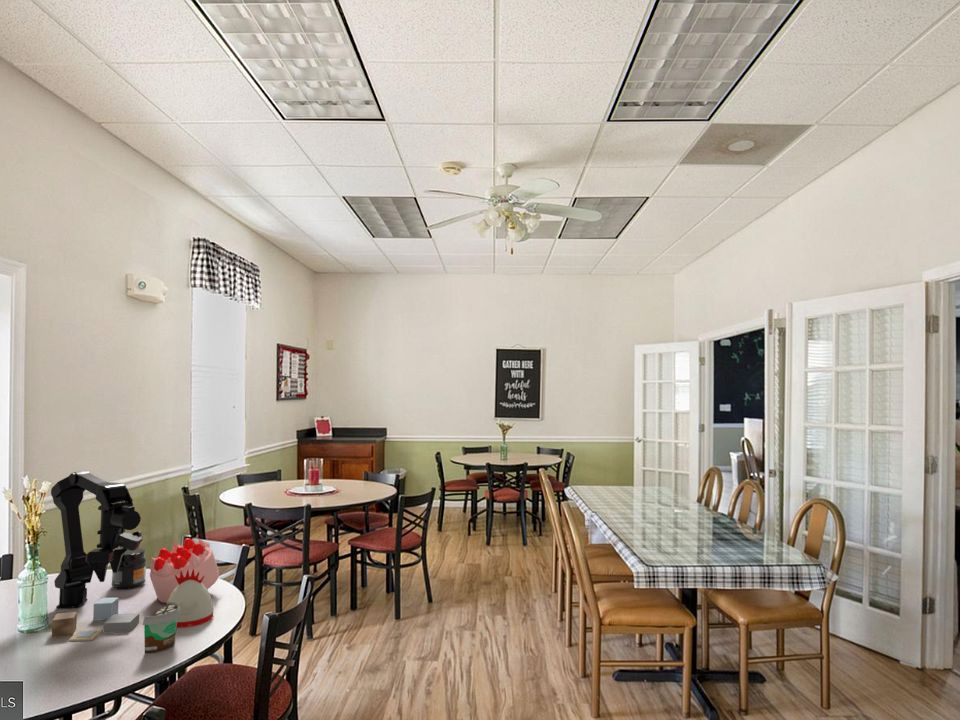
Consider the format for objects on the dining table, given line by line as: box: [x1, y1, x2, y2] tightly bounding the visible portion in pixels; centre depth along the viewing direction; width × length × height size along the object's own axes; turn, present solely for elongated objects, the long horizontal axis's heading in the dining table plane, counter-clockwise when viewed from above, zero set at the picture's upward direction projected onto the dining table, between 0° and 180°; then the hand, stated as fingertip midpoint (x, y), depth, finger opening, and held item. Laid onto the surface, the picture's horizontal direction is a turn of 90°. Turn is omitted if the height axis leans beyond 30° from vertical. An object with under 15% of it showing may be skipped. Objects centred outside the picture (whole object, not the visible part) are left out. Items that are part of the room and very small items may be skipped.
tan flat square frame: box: [68, 629, 103, 642], centre depth 173 cm, size 6×6×1 cm
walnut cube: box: [51, 611, 78, 639], centre depth 174 cm, size 5×5×5 cm
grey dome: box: [168, 569, 214, 629], centre depth 187 cm, size 14×14×15 cm
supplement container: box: [110, 547, 148, 591], centre depth 216 cm, size 10×10×12 cm
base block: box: [102, 612, 140, 633], centre depth 180 cm, size 7×7×3 cm
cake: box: [149, 537, 220, 604], centre depth 206 cm, size 20×20×14 cm
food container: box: [142, 602, 181, 654], centre depth 168 cm, size 12×6×10 cm, turn 179°
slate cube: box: [92, 597, 120, 621], centre depth 187 cm, size 5×5×5 cm
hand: (108, 577), depth 188 cm, fingers open, 9 cm apart
